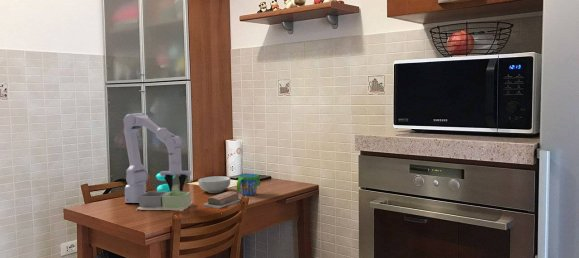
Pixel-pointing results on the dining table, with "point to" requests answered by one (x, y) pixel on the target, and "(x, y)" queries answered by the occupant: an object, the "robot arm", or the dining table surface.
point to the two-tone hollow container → (165, 201)
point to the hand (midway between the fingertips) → (176, 190)
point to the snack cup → (248, 184)
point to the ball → (176, 188)
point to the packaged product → (222, 200)
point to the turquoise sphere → (165, 186)
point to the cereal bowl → (214, 184)
